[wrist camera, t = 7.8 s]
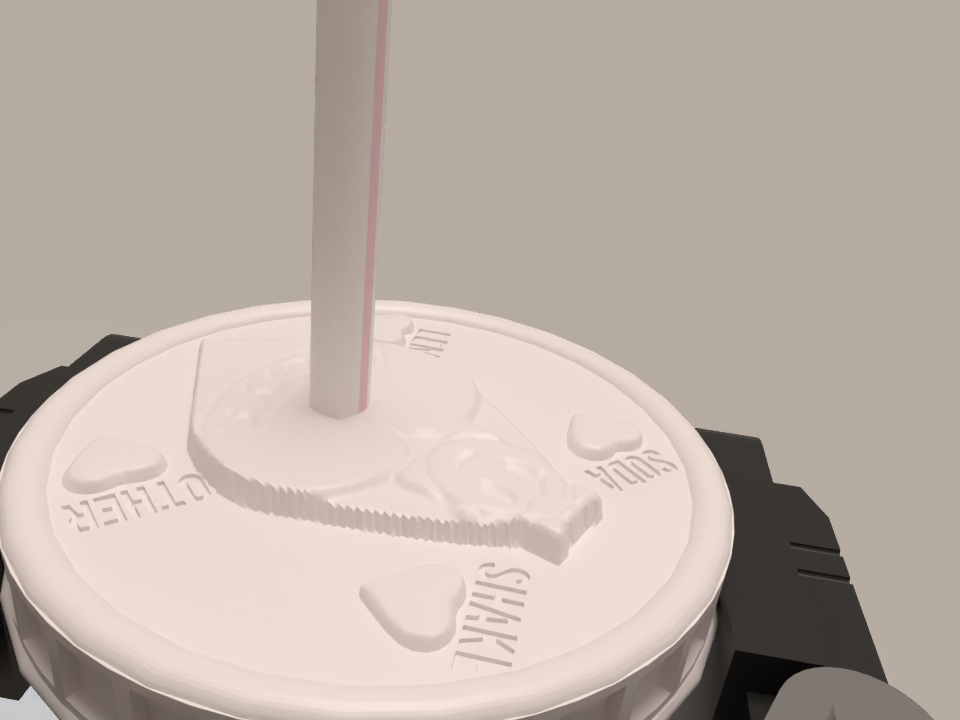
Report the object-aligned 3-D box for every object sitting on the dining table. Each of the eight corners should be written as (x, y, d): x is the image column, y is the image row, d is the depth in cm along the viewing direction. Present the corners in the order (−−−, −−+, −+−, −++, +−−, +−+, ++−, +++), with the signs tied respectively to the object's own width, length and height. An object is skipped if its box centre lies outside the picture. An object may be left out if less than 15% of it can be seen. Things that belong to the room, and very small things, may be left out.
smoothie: (329, 742, 16) (362, -110, 10) (646, 961, 13) (986, -36, 7) (-7, 1075, 11) (-383, -201, 5) (382, 1535, 8) (713, -77, 2)
